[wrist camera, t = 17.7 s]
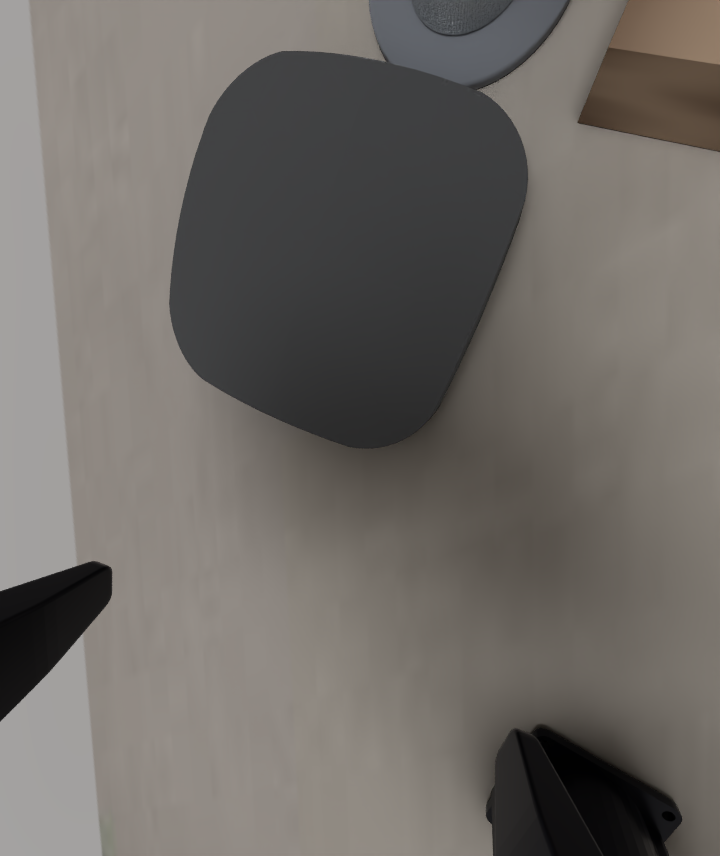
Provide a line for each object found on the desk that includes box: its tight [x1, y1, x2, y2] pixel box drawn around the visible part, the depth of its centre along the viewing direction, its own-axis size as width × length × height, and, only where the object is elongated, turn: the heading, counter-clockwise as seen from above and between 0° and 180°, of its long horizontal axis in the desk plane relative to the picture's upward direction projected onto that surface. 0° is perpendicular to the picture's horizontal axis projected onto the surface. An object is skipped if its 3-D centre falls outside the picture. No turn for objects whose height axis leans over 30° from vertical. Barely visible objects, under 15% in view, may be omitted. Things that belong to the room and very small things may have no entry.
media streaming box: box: [169, 51, 528, 448], centre depth 17 cm, size 15×15×3 cm
